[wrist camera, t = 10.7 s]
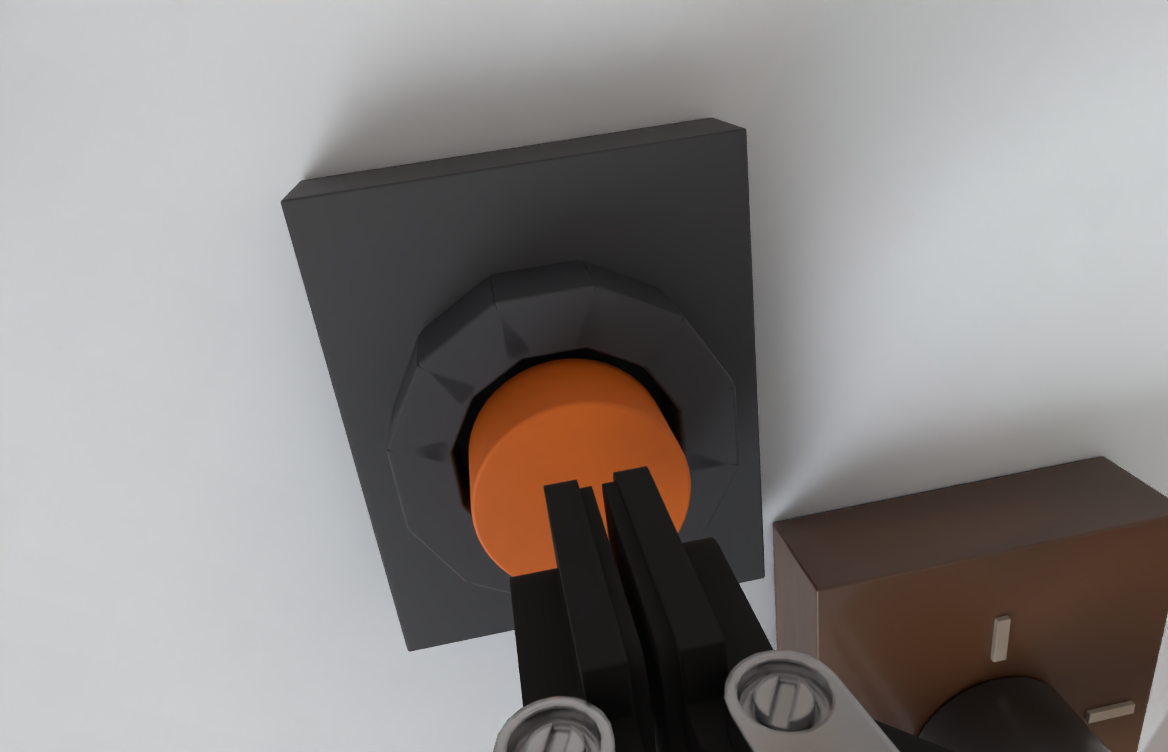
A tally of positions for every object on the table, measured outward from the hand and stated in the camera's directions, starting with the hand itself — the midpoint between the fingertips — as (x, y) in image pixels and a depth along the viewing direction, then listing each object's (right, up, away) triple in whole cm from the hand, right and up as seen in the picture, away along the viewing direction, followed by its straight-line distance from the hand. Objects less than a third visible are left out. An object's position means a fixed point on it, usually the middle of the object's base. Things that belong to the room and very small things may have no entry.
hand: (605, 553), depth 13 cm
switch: (-1, +1, +3) cm, 4 cm away
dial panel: (+11, -6, +13) cm, 18 cm away
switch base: (-1, +3, +7) cm, 7 cm away
